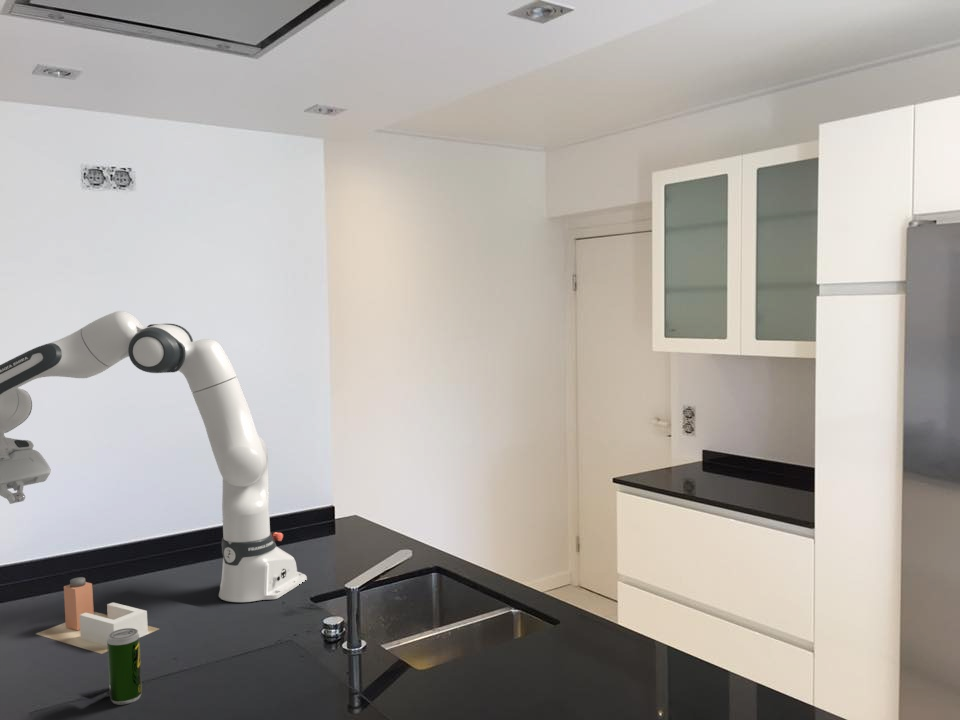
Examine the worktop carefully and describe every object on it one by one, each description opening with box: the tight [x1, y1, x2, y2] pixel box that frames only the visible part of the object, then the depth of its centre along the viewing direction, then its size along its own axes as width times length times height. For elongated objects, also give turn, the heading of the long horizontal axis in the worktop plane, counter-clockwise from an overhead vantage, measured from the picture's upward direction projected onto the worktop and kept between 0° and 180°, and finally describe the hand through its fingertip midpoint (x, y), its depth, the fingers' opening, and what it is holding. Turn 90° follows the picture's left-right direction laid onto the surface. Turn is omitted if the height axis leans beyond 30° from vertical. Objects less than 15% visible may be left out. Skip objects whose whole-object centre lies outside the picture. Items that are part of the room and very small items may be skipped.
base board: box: [35, 611, 160, 655], centre depth 174 cm, size 14×22×2 cm, turn 61°
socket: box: [79, 602, 149, 646], centre depth 171 cm, size 8×11×5 cm
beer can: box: [107, 628, 143, 706], centre depth 146 cm, size 5×5×12 cm
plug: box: [63, 576, 95, 630], centre depth 176 cm, size 4×4×10 cm
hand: (18, 500), depth 185 cm, fingers closed
